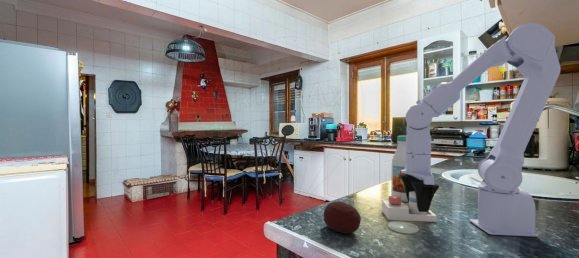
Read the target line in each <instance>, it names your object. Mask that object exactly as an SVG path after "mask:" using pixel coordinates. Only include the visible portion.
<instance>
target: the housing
mask: <svg viewBox="0 0 579 258" xmlns="http://www.w3.org/2000/svg"><path fill="white" fill-rule="evenodd" d="M381 204H382V205H381V207H382V209H381V211H382V213H383V215H384V216H385V217H386V218H387V220H388V221H404V222H431V223H433V222H434V223H437V215H436V214H435V213H434V212H432V211H431V210H430V209H429V211H428V212H427V214H410V213H409V206H407V205H406V204H405V202H402V201H401V204H397V205H393V204H391V203H389V199H388V200H387V199H386V200H384V199H383V200H381Z"/></svg>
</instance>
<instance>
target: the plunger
mask: <svg viewBox="0 0 579 258" xmlns="http://www.w3.org/2000/svg"><path fill="white" fill-rule="evenodd" d="M388 200H389V203H391V204H393V205H397V204H401V202H402V201H401V197H399V196H391V195H389V196H388Z"/></svg>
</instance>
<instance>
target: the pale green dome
mask: <svg viewBox="0 0 579 258" xmlns="http://www.w3.org/2000/svg"><path fill="white" fill-rule="evenodd" d="M387 227H388V229H389V230H391V231H393V232H396V233H400V234H404V235H405V234H406V235H413V234H416V233H419V229H420V228H419V227H418V226H417V224H414V223H411V222H410V221H404V220H391V221H389V222H388V223H387Z"/></svg>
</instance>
